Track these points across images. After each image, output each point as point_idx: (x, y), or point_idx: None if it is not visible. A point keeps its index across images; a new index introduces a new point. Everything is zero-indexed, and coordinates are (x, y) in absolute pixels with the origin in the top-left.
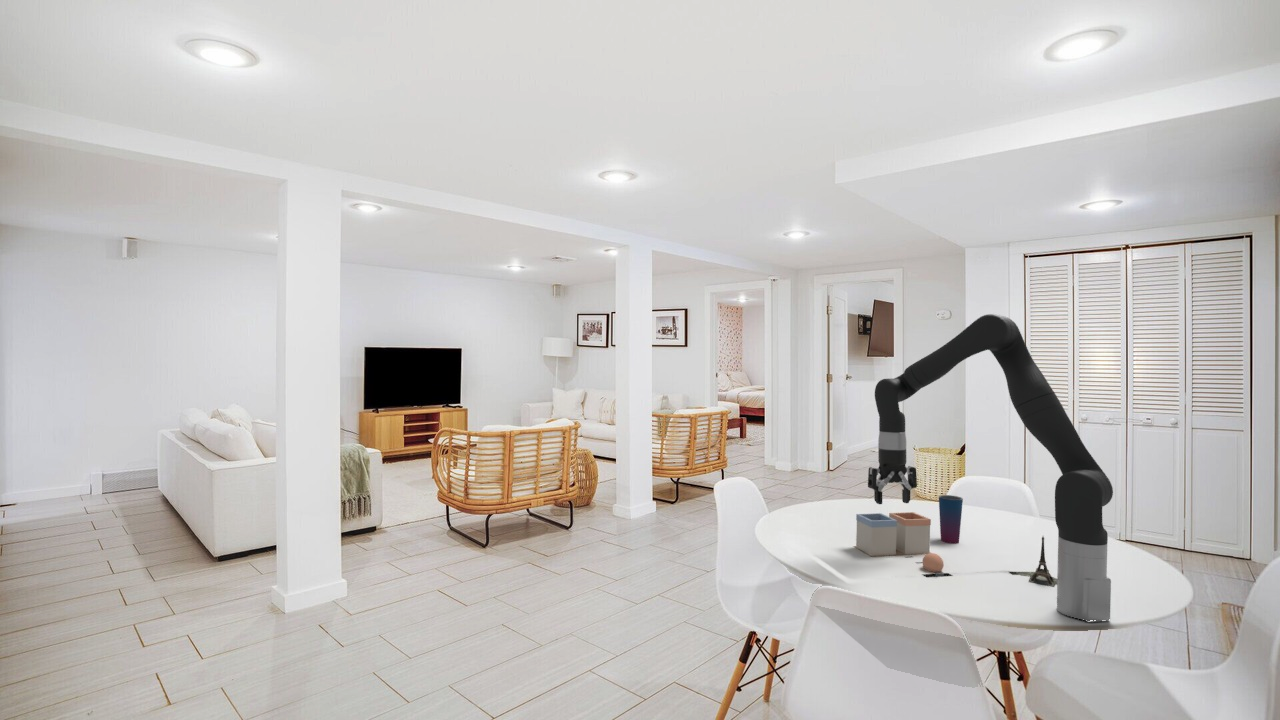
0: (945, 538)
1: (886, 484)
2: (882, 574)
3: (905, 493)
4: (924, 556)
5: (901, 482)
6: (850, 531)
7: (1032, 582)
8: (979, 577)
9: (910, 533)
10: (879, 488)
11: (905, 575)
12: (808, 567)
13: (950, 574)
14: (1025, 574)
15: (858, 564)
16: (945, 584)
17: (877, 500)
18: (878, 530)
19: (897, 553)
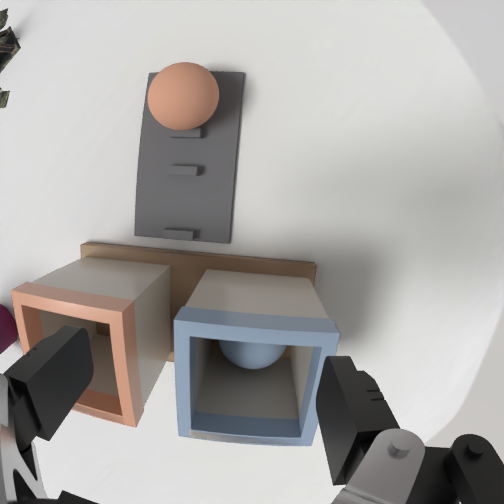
0: (2, 327)
1: (341, 497)
2: (362, 140)
3: (48, 384)
4: (200, 107)
5: (29, 483)
6: (192, 476)
7: (17, 44)
8: (85, 69)
9: (122, 286)
10: (411, 452)
11: (294, 111)
12: (499, 254)
13: (148, 83)
14: None
15: (376, 243)
16: (223, 28)
17: (371, 380)
18: (288, 311)
19: (193, 277)
